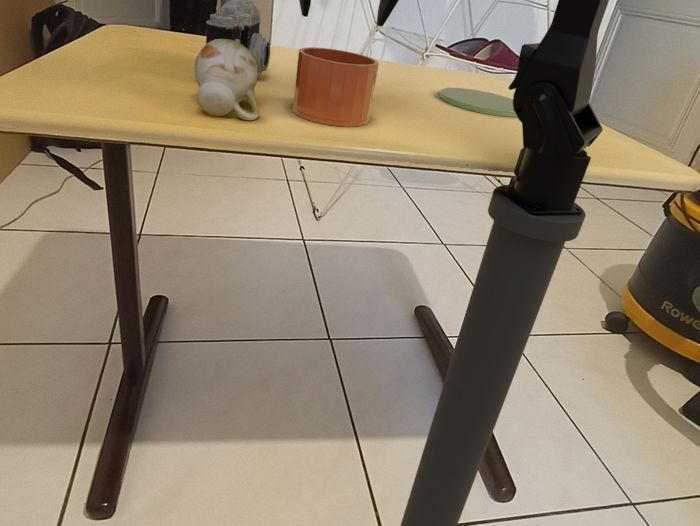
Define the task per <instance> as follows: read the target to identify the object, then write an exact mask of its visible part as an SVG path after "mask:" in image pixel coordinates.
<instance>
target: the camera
mask: <svg viewBox="0 0 700 526" xmlns="http://www.w3.org/2000/svg"><path fill="white" fill-rule="evenodd" d="M205 23H206V27H205V28H206V31H205V32H206V33H205V39H206V40H205V45H206V44H207V43H209V42H210V41H212V40H215V39H229V40H233V41H236V42H238V43H240V44H242V45H243V46H245V47H246V48H247V49H248V50H249V51H250V52H251V54H252V55H253V57H254V58H255V60H256V63H257V67H258V74H262V73H263V72H266V71H267V70H268V67H269V64H270V59H271V42H270V41H268V40H267V39H266V37H263V34H261V33H260V27H261V26H260V25H261V12H260V9H259V7H258V5H257V4H256V2H255V1H254V0H228V1H226V2H225V3H224V4H223V5H222V6H221V7H220V10H218V11H217V12H214V13H212V14H210V15H209V19H208V20H206V22H205Z"/></svg>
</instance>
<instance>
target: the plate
mask: <svg viewBox="0 0 700 526" xmlns="http://www.w3.org/2000/svg"><path fill="white" fill-rule="evenodd" d="M439 98H440V99H441V100H443V101H444V102H445V103H448V104H450V105H452V106H454V107H455V106H456V107H458V108H460V109H464V110H468V111H472V112H475V113H480V114H485V115H492V116H498V117H508V118H516V117H517V115H516V113H515V111H514V110H513V98H510V97H508V96H504V95H501V94H497V93H493V92H489V91H484V90H477V89H472V88H464V87H445V88H442V89H440V92H439ZM517 118H518V117H517Z"/></svg>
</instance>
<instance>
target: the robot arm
mask: <svg viewBox="0 0 700 526" xmlns="http://www.w3.org/2000/svg"><path fill="white" fill-rule="evenodd" d="M298 1H299V7H300V12H301V15H302V16H303V18H304V17H305V18H307V17H308V16H309V13H310V8H311V4H312V0H298ZM399 1H400V0H379V4H378V9H377V15H376V26H378V27H381V28H383V26H385V24H386V22H387V20H388V19H389V17H390V16H391V14H392V12H393V11H394V9H395V7H396V6H397V4H398V2H399ZM609 1H610V0H558V1H557V4H556V8H555V9H554V10H555V11H554V14H553V16H552V21H551V23H550V26H549V28H548V30H547V31H546V32H545V34H544V36H543V37H542V39H541V41H540V42H536V43H525V44H522V45H521V48H520V52H519V58H518V66H517V71H516V74H515V76H514V78H513V80H512V82H511V83H510V84H509V86H508V90H510V91H512V90H514V92H513V95H512V99H513V110H514V111H515V113H516V115H517V119H518V120H519V122H520V123H521V126H522V127H521V128H522V129H521V130H522V148H521V149H520V150H519V154H518V157H517V161H516V164H515V167H514V170H513V174H514V176H515V177H516V180H514V181H513V180H512V181H510V183H509V185H511V186H502V185H499V186H498V187H499V188H498V192H500V193H501V194H503V195H504V196H505V197H507V198H508V199H510V200H511V201H512V202H514V203H515V204H517V205H518V206H519V207H521V208H522V209H524V210H525V211H526V212H528V213H529V214H531V215H534V216H567V215H582V213H583V210H584V209H583V208H582V209H583V210H582V209H580V208H578V207H577V206H575V205H574V202H575V203H576V199H577V196H578V194H579V191H580V188H581V186H582V184H583V180H584V178H585V175H586V172H587V171H588V167H589V165H590V162H591V159H592V157H591V156H589V155H588V152H587V151H586V150H585V149H587V148H588V147H590V146H592V144H593V143H594V142H595V141H596V140H597V138H598V137H599V136H600V135H601V134H602V132H603V130H604V129H603V126H602V125H601V122H600V121H599V119H598V117H597V115H596V112H595V111H594V109H593V108H592V105H591V104H590V100H591V96H592V95H591V94H592V90H593V83H594V78H595V73H596V67H597V63H596V62H597V53H598V52H597V49H598V37H599V31H600V27H601V24H602V22H603V18H604V15H605V13H606V11H607V7H608V4H609Z"/></svg>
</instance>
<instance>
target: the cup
mask: <svg viewBox="0 0 700 526" xmlns="http://www.w3.org/2000/svg"><path fill="white" fill-rule="evenodd" d="M379 65H380V63H379V61H378V60H376V59H374V58H372V57H370V56H367V55H363V54H360V53H357V52H352V51H347V50H341V49H334V48H328V47H327V48H325V47H314V46H313V47H302V48H299V49H298V57H297V65H296V76H295V85H294V95H293V103H292V111H293V113H294V114H295V115H297V116H298V117H300V118H301V119H304V120H308V121H309V122H312V123H318V124H322V125H327V126H334V127H342V128H343V127H347V128H348V127H349V128H350V127H353V128H354V127H361V126H365V125H367V124H368V123H369V122H370V121H369V120H370V117H371V112H372V106H373V105H372V104H373V99H374V94H375V88H376V82H377V77H378V70H379Z"/></svg>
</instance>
